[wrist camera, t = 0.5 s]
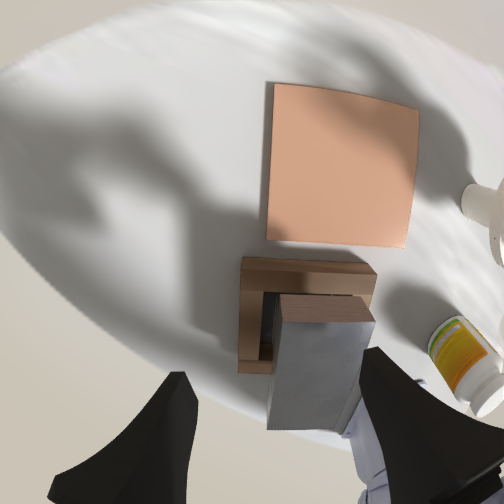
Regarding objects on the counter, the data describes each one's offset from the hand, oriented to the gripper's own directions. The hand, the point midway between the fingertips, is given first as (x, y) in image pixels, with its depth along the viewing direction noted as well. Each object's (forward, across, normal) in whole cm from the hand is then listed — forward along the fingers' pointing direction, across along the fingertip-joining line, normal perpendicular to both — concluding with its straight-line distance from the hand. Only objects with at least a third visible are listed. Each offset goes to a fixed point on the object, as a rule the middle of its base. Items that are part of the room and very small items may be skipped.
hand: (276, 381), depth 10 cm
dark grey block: (+10, -2, +4) cm, 11 cm away
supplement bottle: (+9, -17, +10) cm, 22 cm away
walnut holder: (+10, -2, +4) cm, 11 cm away
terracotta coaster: (+10, -6, -6) cm, 13 cm away
